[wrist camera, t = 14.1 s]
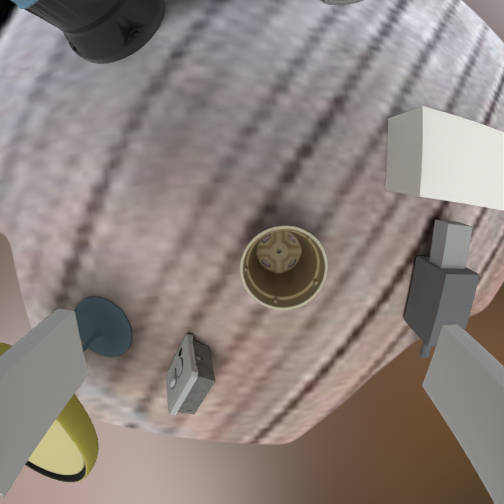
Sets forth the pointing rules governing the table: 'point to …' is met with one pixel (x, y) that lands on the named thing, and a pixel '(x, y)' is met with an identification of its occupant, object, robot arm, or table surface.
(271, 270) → the flower pot
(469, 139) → the white rectangular block
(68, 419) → the cocktail glass
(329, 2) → the dog bowl
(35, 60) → the table surface
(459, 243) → the plug
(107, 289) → the table surface
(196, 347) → the electrical switch
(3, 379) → the robot arm
